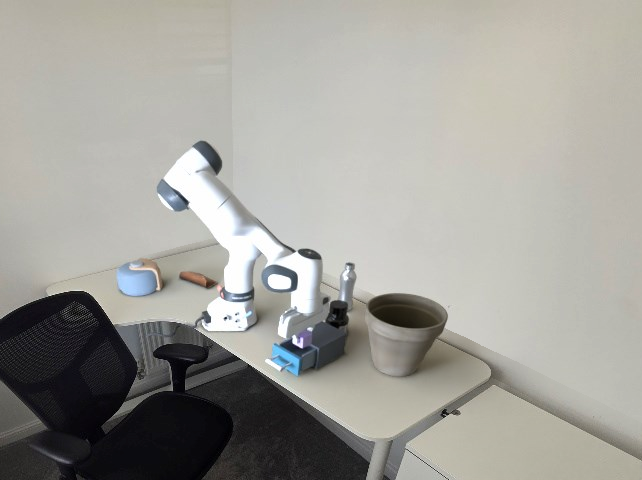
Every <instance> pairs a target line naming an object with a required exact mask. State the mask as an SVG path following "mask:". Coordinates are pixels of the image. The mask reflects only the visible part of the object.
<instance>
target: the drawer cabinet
mask: <svg viewBox="0 0 642 480" xmlns="http://www.w3.org/2000/svg"><path fill="white" fill-rule="evenodd" d="M306 331H307V329H306ZM347 337H348V332H347V333H345V332H343V331H341V330H339V329H337V328H335V327H333V326H331V325H329V324H327V323H325V321H322V322H320V323H318V324H316V325H315V328H314V329H313V331H312V342H311V344H310V346H312V347H314V348H316V349H317V356H316V364H315V365H313V366H311V367H312V368H314V369H315V370H318V369H320V368H322V367H323V366H325V365H327V364H328V363H330V362H332V361H334V360H336V359H337V358H339V357H341V356H343V355H344V354H345V350H346V343H347ZM290 338H291V337H290Z"/></svg>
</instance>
